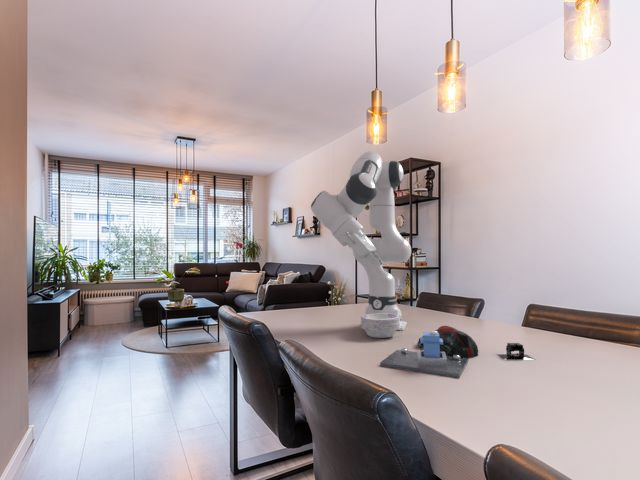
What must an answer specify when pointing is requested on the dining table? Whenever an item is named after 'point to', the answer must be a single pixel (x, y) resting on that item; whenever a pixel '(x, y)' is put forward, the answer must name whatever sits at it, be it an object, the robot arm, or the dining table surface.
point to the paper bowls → (380, 324)
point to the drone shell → (455, 343)
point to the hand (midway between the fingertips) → (380, 265)
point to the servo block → (431, 344)
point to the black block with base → (515, 347)
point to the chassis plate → (412, 364)
